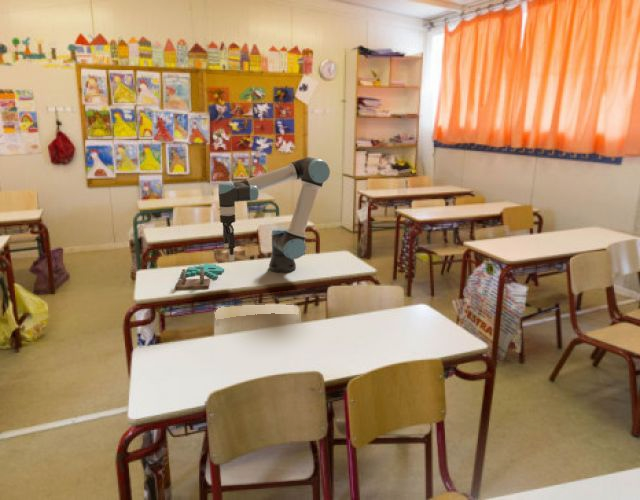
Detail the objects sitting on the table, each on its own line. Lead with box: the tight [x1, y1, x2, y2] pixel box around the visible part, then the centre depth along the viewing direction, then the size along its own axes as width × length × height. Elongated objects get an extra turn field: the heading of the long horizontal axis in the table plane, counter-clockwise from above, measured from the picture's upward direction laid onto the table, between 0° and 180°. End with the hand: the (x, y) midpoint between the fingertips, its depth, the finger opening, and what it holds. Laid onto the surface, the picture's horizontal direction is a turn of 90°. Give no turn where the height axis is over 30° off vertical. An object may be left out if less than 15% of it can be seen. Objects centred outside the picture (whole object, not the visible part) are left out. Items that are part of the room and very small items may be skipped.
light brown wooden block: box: [213, 245, 246, 264], centre depth 246 cm, size 14×8×5 cm, turn 116°
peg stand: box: [175, 268, 211, 291], centre depth 247 cm, size 16×11×8 cm
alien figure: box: [179, 263, 225, 280], centre depth 267 cm, size 20×2×20 cm
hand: (229, 258), depth 247 cm, fingers closed on light brown wooden block, 8 cm apart
